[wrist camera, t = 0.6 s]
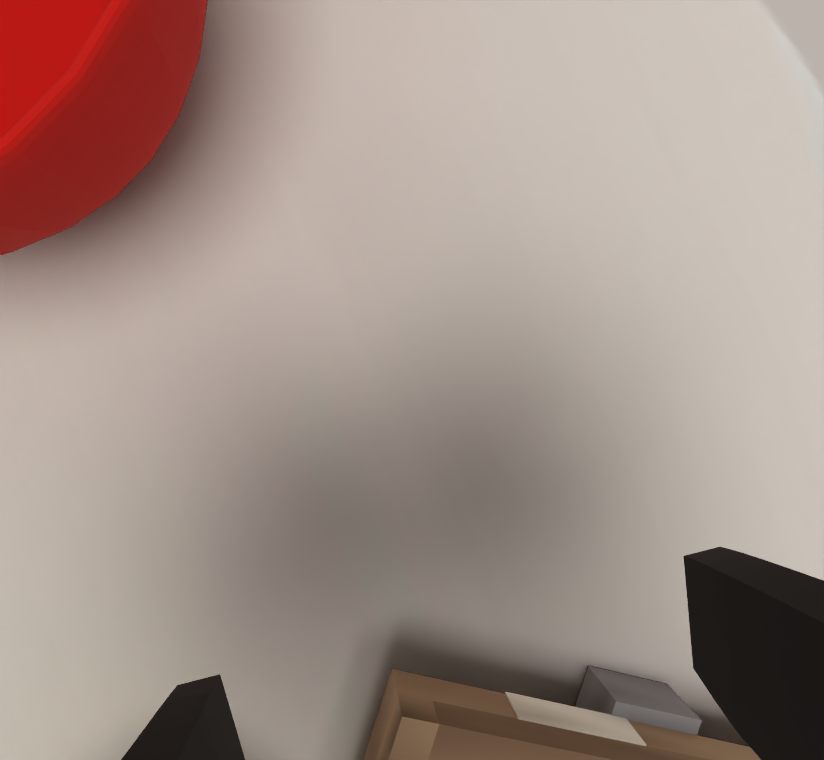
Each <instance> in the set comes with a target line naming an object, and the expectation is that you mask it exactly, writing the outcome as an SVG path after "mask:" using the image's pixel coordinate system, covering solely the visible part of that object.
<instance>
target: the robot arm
mask: <svg viewBox="0 0 824 760" xmlns="http://www.w3.org/2000/svg"><path fill="white" fill-rule="evenodd" d="M684 565H685V576H686V588H687V599H688V611H689V622H690V634H691V645H692V656H693V668H694V670H695V671H696V673H697V674H698V676H699V677H700V679H701V680H702V682H703V683H704V685H705V686H706V688H707V689H708V691H709V692H710V694H711V695H712V697H713V698H714V700H715V701H716V703H717V704H718V706H719V707H720V708H721V710H722V711H723V713H724V714H725V716H726V717H727V718H728V720H729V721H730V723H731V724H732V725H733V727H734V728H735V730H736V731H737V732H738V733H739V734H740V735H741V737H742V738H743V739H744V740H745V741H746V743H747V744H748V745H749V746H750V747H751V748H752V750H753V751H754V752H755V753H756V754H757V755H758V757H759V758H760V759H761V760H824V581H823V580H820V579H817V578H814V577H811V576H809V575H806V574H803V573H800V572H797V571H794V570H791V569H789V568H786V567H783V566H780V565H777V564H774V563H771V562H768V561H765V560H762V559H759V558H756V557H753V556H750V555H747V554H744V553H741V552H737V551H734V550H730V549H726V548H722V547H717V548H713V549H710V550H706V551H702V552H698V553H694V554H690V555H686V556H684ZM122 760H245V758H244V755H243V751H242V748H241V744H240V741H239V738H238V734H237V731H236V727H235V724H234V721H233V717H232V714H231V710H230V707H229V703H228V700H227V697H226V693H225V690H224V686H223V683H222V680H221V676H220V675H216V676H212V677H208V678H204V679H200V680H196V681H192V682H189V683H185V684H181V685H177V687H176V688H175V689H174V690H173V692H172V693H171V694H170V695H169V697H168V698H167V699H166V700H165V702H164V703H163V704H162V706H161V707H160V708H159V710H158V711H157V712H156V714H155V715H154V717H153V718H152V719H151V721H150V722H149V723H148V725H147V726H146V727H145V729H144V730H143V731H142V733H141V734H140V735H139V737H138V738H137V740H136V741H135V742H134V744H133V745H132V746H131V748H130V749H129V750H128V752H127V753H126V754H125V756H124V757H123V758H122Z"/></svg>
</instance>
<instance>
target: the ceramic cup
mask: <svg viewBox="0 0 824 760" xmlns="http://www.w3.org/2000/svg"><path fill="white" fill-rule="evenodd" d="M207 2H208V0H0V255H3V254H6V253H10V252H13V251H15V250H18V249H20V248H22V247H25V246H27V245H30V244H32V243H34V242H37V241H39V240H41V239H44V238H46V237H49V236H51V235H53V234H56V233H58V232H61V231H63V230H65V229H68V228H70V227H72V226H73V225H75V224H76V223H78V222H79V221H81V220H82V219H84V218H85V217H86V216H88V215H89V214H91V213H92V212H94V211H95V210H97V209H98V208H100V207H101V206H103V205H104V204H106V203H107V202H109V201H110V200H112V199H113V198H115V197H116V196H117V195H118V194H119V193H120V192H121V191H122V190H123V189H124V188H125V187H126V186H127V185H128V184H129V183H130V182H131V181H132V179H133V178H134V177H135V176H136V175H137V174H138V173H139V172H140V171H141V170H142V169H143V168H144V167H145V166H146V165H147V164H148V163H149V162H150V161H151V160H152V159H153V157H154V155H155V154H156V152H157V150H158V149H159V147H160V146H161V144H162V142H163V141H164V139H165V137H166V136H167V134H168V132H169V131H170V129H171V128H172V126H173V124H174V123H175V121H176V119H177V118H178V116H179V114H180V111H181V109H182V106H183V103H184V100H185V97H186V94H187V92H188V89H189V86H190V83H191V80H192V78H193V75H194V72H195V69H196V66H197V63H198V60H199V57H200V50H201V43H202V36H203V29H204V22H205V16H206V9H207Z"/></svg>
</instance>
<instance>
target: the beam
mask: <svg viewBox="0 0 824 760" xmlns="http://www.w3.org/2000/svg"><path fill="white" fill-rule="evenodd" d="M701 722H702V720H701V719H700V718H699V717H698V716H697V715H696V714H695V713H694V712H693V710H692V709H691V708H690V707H689V706H688V705H687V704H686V703H685V702H684V701H683V700H682V699H681V698H680V697H679V696H678V695H677V694H676V693H675V692H674V691H673V690H672V689H671V688H670V687H669V685H668V684H665V683H660V682H656V681H652V680H647V679H643V678H639V677H634V676H630V675H626V674H621V673H617V672H613V671H608V670H604V669H600V668H595V667H591V666H588V669H587V672H586V675H585V678H584V681H583V684H582V687H581V690H580V693H579V696H578V699H577V702H576V705H575V707H574V706H569V705H564V704H560V703H555V702H551V701H546V700H542V699H537V698H532V697H528V696H523V695H519V694H514V693H510V692H505V693H500V692H496V691H491V690H486V689H482V688H477V687H473V686H468V685H463V684H459V683H454V682H450V681H445V680H440V679H436V678H431V677H427V676H422V675H417V674H413V673H408V672H404V671H399V670H395V669H392V670H391V673H390V677H389V680H388V683H387V686H386V689H385V693H384V696H383V699H382V702H381V705H380V708H379V712H378V715H377V718H376V721H375V724H374V728H373V731H372V734H371V737H370V740H369V743H368V747H367V750H366V753H365V756H364V759H363V760H761V759H760V758H759V757H758V755H757V754H756V753H755V752H754V751H753V750H752V748H751V747H748V746H743V745H739V744H734V743H730V742H725V741H721V740H716V739H711V738H707V737H702V736H698V735H697V734H698V731H699V728H700V725H701Z"/></svg>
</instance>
